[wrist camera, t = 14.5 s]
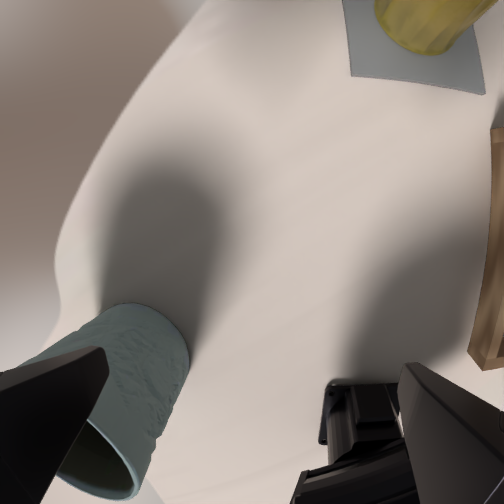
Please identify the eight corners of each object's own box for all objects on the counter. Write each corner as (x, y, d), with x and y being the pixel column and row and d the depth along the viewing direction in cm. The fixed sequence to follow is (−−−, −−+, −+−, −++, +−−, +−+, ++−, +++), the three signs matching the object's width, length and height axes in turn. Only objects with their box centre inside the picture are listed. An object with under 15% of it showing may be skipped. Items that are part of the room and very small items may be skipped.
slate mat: (481, 95, 16) (485, 93, 16) (351, 76, 18) (352, 73, 17) (456, -15, 14) (459, -19, 13) (335, -37, 15) (336, -41, 15)
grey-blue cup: (216, 330, 23) (152, 449, 11) (180, 417, 26) (128, 520, 14) (100, 273, 23) (-13, 338, 12) (85, 365, 26) (7, 441, 14)
